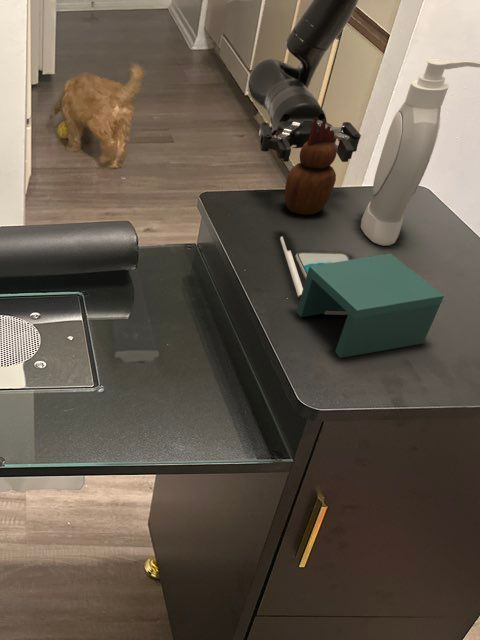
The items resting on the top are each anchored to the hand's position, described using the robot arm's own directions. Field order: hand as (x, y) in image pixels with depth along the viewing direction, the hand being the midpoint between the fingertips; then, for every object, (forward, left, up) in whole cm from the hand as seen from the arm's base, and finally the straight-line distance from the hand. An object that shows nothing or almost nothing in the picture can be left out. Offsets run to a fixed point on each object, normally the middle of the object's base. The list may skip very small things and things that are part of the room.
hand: (317, 155), depth 109 cm
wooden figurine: (0, 0, -9) cm, 9 cm away
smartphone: (+7, +20, -10) cm, 23 cm away
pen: (+10, +15, -10) cm, 21 cm away
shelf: (+10, +30, -9) cm, 33 cm away
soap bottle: (-8, +10, -9) cm, 16 cm away
